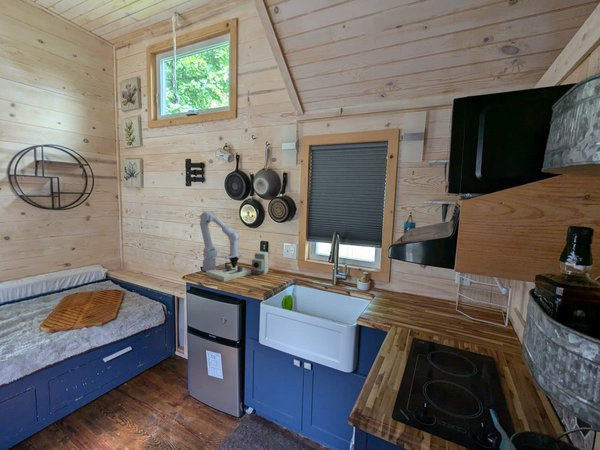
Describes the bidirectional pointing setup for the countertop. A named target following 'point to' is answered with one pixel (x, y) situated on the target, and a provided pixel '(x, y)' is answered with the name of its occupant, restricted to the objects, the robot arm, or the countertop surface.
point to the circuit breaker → (260, 262)
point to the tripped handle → (229, 267)
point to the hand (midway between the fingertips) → (233, 267)
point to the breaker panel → (228, 272)
